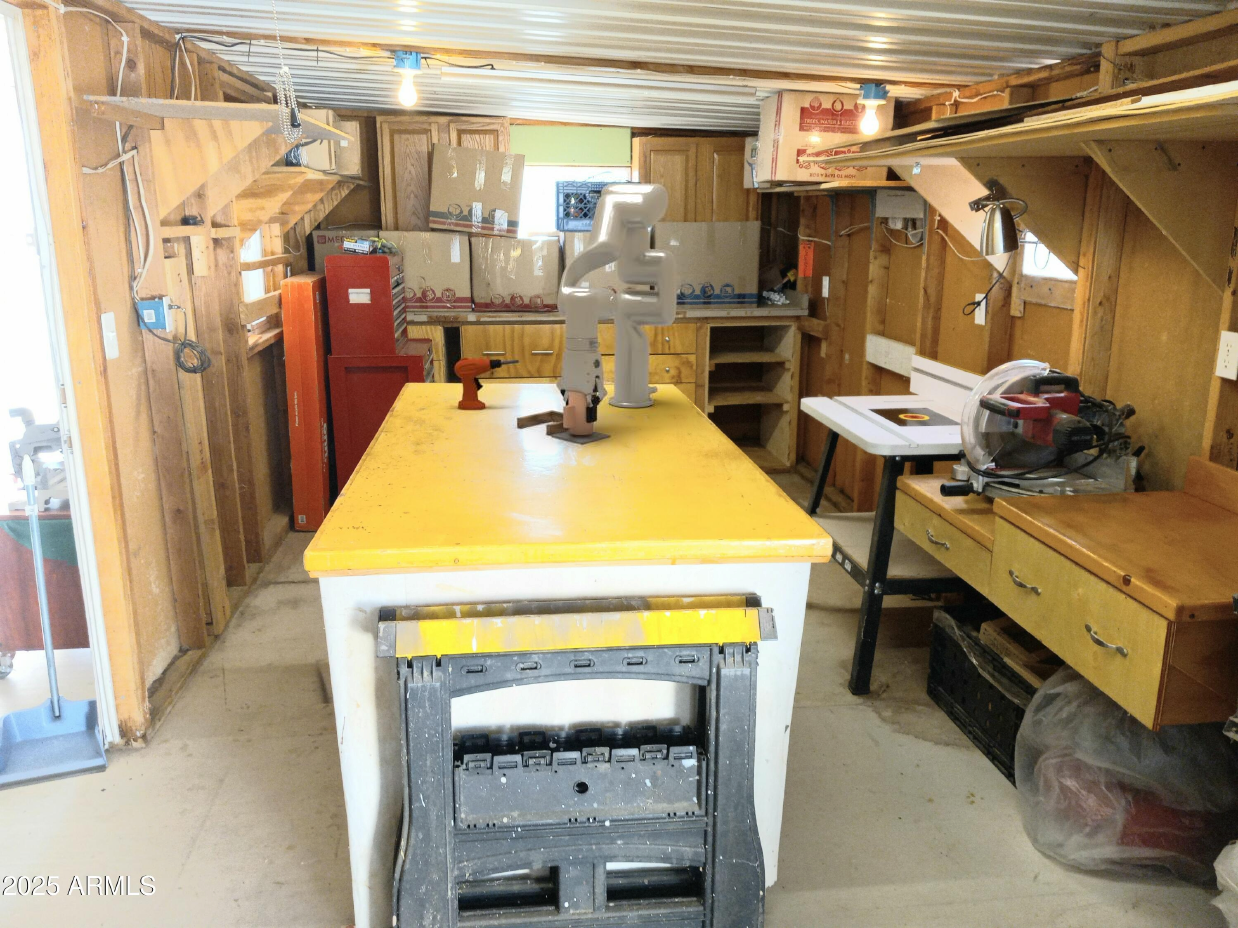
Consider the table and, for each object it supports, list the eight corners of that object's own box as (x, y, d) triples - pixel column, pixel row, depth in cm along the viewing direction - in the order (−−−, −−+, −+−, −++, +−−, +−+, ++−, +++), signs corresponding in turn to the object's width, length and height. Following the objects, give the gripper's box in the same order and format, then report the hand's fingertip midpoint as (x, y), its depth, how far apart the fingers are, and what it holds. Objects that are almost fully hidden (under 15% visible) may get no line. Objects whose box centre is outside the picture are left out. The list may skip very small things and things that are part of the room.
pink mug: (580, 427, 224) (580, 387, 221) (598, 431, 220) (599, 390, 218) (555, 433, 218) (555, 392, 215) (574, 438, 214) (574, 396, 212)
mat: (579, 430, 227) (579, 428, 227) (610, 436, 221) (610, 435, 221) (551, 437, 220) (551, 435, 220) (582, 444, 214) (582, 442, 214)
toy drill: (525, 404, 248) (517, 352, 244) (458, 413, 247) (449, 360, 243) (524, 401, 253) (517, 349, 248) (459, 409, 251) (450, 357, 247)
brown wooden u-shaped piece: (552, 419, 237) (552, 410, 237) (584, 427, 230) (584, 417, 230) (517, 427, 228) (517, 418, 228) (549, 435, 221) (549, 425, 221)
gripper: (620, 347, 212) (618, 423, 217) (565, 339, 223) (565, 411, 228) (598, 350, 206) (597, 428, 211) (543, 342, 217) (544, 416, 222)
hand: (581, 419), depth 219 cm, fingers closed on pink mug, 6 cm apart
